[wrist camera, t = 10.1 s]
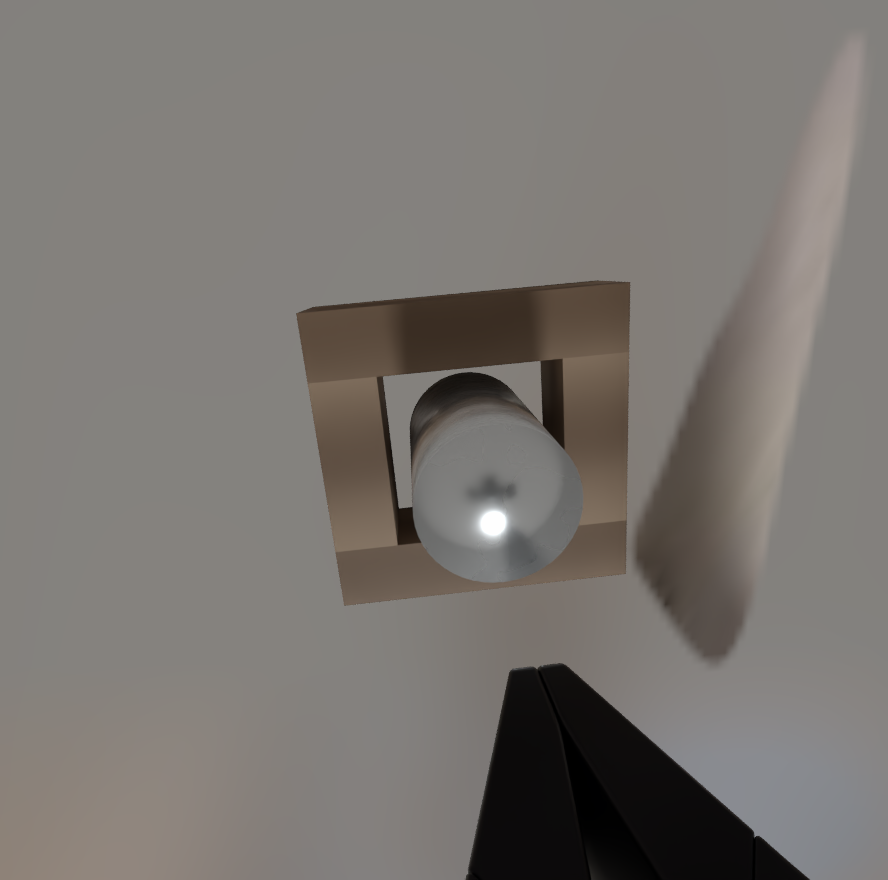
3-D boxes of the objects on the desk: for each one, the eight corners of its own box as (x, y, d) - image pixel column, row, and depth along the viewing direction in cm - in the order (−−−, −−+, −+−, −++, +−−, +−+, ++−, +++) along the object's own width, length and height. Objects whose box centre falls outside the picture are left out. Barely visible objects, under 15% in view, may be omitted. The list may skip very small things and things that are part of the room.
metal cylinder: (528, 477, 21) (584, 572, 15) (416, 489, 21) (421, 591, 15) (523, 366, 20) (582, 415, 13) (403, 378, 20) (403, 434, 13)
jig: (597, 534, 22) (625, 573, 19) (352, 561, 22) (344, 605, 19) (596, 280, 19) (630, 282, 16) (312, 307, 19) (296, 313, 16)
